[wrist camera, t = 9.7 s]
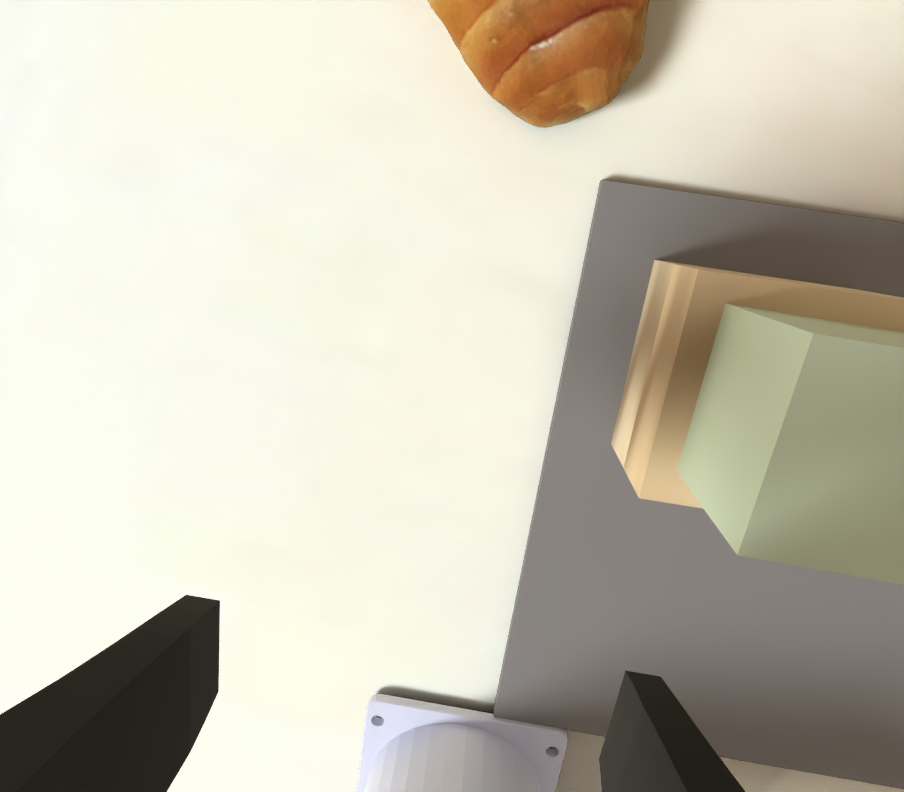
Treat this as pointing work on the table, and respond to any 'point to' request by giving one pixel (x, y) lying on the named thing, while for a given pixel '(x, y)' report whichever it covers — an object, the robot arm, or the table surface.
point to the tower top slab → (689, 348)
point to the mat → (698, 527)
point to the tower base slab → (650, 351)
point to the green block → (802, 442)
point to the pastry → (548, 51)
